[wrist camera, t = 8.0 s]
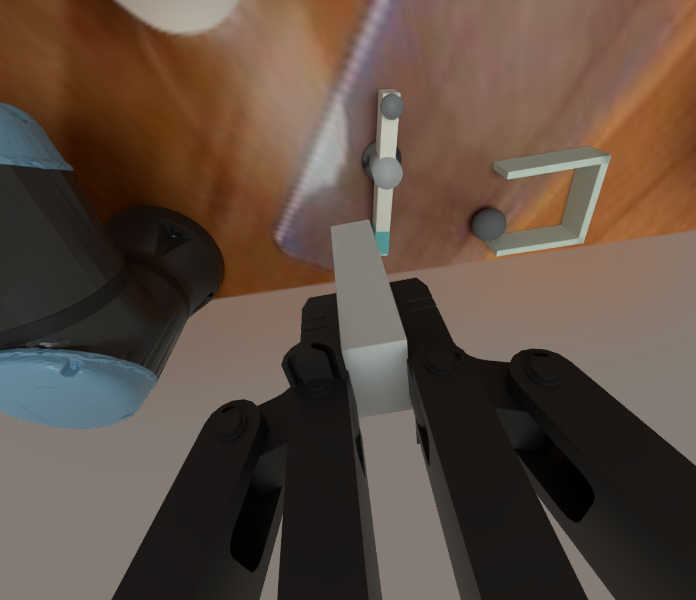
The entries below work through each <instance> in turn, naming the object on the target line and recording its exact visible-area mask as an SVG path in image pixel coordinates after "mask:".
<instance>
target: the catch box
mask: <svg viewBox="0 0 696 600" xmlns="http://www.w3.org/2000/svg"><path fill="white" fill-rule="evenodd" d="M610 158H611V155H610V154H608V153H605V152H603V151H600V150H598V149H595V148H592V147H590V146H584V147H578V148H572V149H566V150H560V151H555V152H549V153H543V154H537V155H531V156H525V157H519V158H513V159H507V160H502V161H496V162H494V163H493V169H494V170H495V171H496V172H498V173H499V174H500V175H502V176H503V177H504V178H506V179H507V180H508V179H514V178H520V177H526V176H532V175H538V174H544V173H550V172H556V171H562V170H568V169H574V168H575V172H574V176H573V179H572V183H571V187H570V191H569V195H568V198H567V202H566V206H565V210H564V214H563V218H562V221H561V225H555V226H548V227H542V228H536V229H529V230H523V231H517V232H510V233H504V234H502V235H501V236H500V237H499V238H497V239H495V240H492V241H485V243H486V244H487V245H488V247H489V248H490V249H491V250H492V252H493V253H494V254H495V255H496V256H502V255H509V254H515V253H522V252H528V251H535V250H541V249H548V248H554V247H561V246H567V245H574V244H580V243H583V242H584V239H585V236H586V233H587V230H588V227H589V224H590V220H591V217H592V214H593V211H594V208H595V205H596V202H597V199H598V195H599V192H600V189H601V186H602V183H603V180H604V177H605V173H606V170H607V167H608V164H609V161H610Z"/></svg>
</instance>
